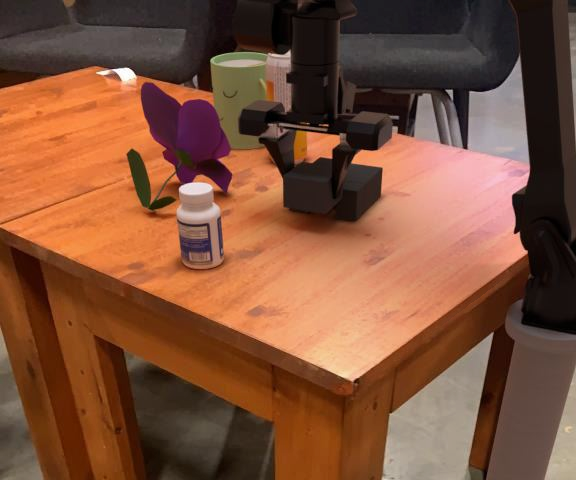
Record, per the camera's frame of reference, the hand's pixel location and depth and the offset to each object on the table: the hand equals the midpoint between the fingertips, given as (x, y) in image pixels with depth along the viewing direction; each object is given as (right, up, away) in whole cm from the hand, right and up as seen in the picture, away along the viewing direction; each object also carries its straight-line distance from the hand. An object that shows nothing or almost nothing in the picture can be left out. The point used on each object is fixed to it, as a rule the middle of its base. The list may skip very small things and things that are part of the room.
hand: (313, 195), depth 100 cm
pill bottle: (-14, -11, -5) cm, 18 cm away
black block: (+1, 0, +2) cm, 2 cm away
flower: (-19, +3, +9) cm, 21 cm away
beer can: (-3, +14, +22) cm, 26 cm away
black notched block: (+3, +2, +8) cm, 9 cm away
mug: (-10, +21, +29) cm, 37 cm away
